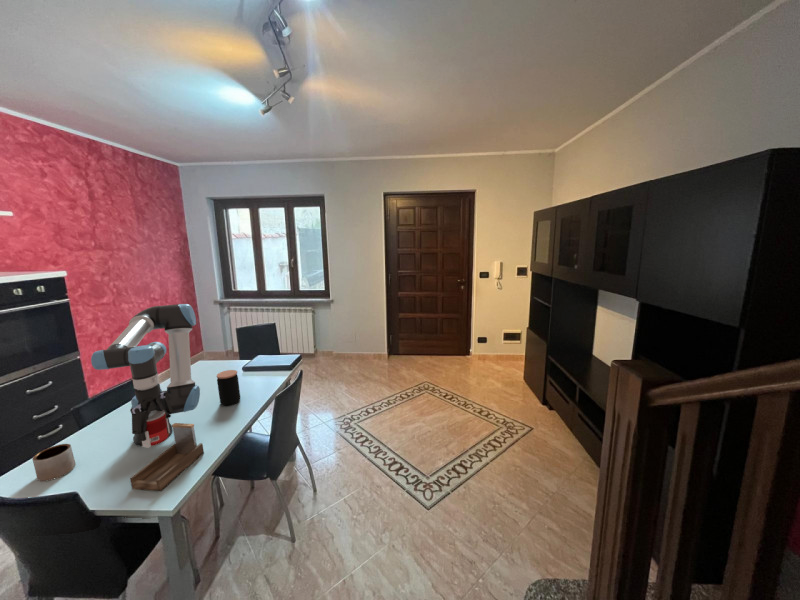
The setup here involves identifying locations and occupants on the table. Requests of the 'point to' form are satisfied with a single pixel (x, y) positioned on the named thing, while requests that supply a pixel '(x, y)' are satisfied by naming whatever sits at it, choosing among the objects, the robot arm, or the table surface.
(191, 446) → the pusher
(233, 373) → the coffee jar
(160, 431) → the canned food
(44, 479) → the planter
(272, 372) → the table surface
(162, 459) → the tray
